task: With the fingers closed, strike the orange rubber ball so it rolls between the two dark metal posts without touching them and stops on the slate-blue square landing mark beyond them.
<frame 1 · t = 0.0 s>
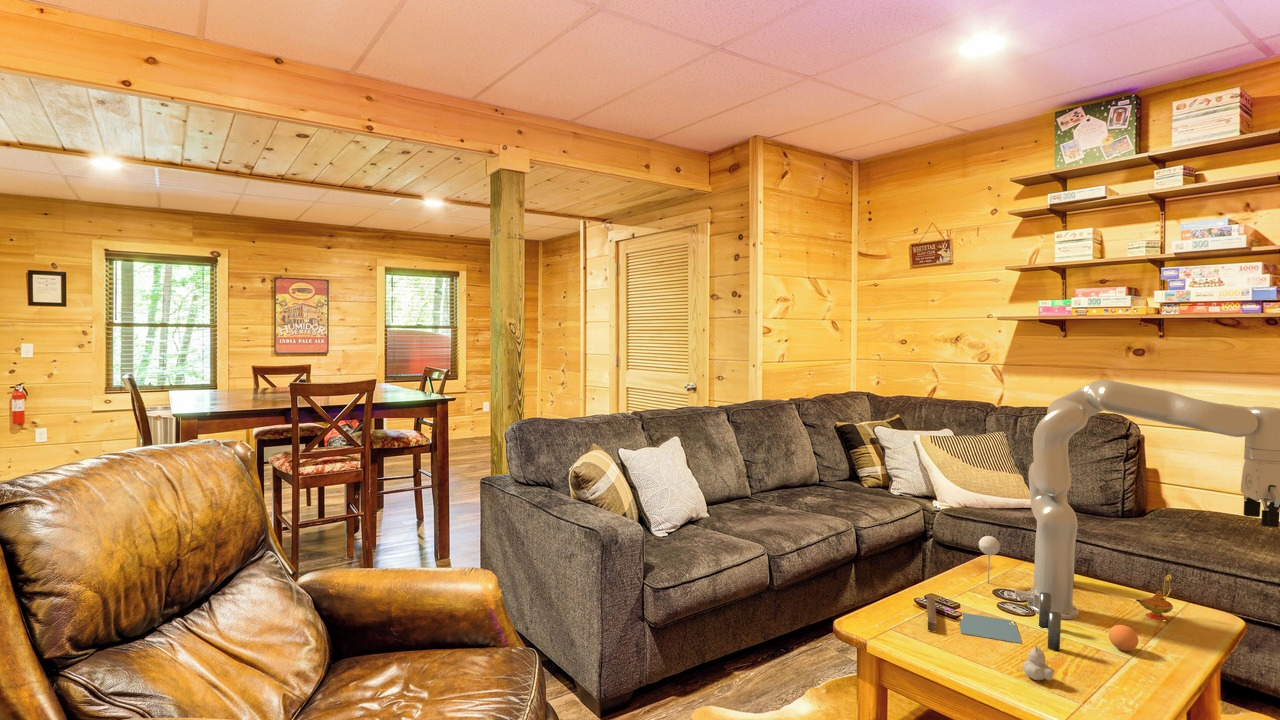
hand: (1260, 521, 169), 31 cm above the table, tool pointing down, fingers open, 9 cm apart
post 2: (1053, 648, 166), on the table
rubber duck: (1038, 680, 151), on the table
lollipop: (988, 583, 208), on the table
post 1: (1044, 626, 178), on the table
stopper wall: (931, 618, 182), on the table
landing mark: (988, 627, 177), on the table
magic lamp: (1153, 619, 183), on the table
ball: (1123, 637, 165), on the table
coffee box: (1055, 582, 209), on the table
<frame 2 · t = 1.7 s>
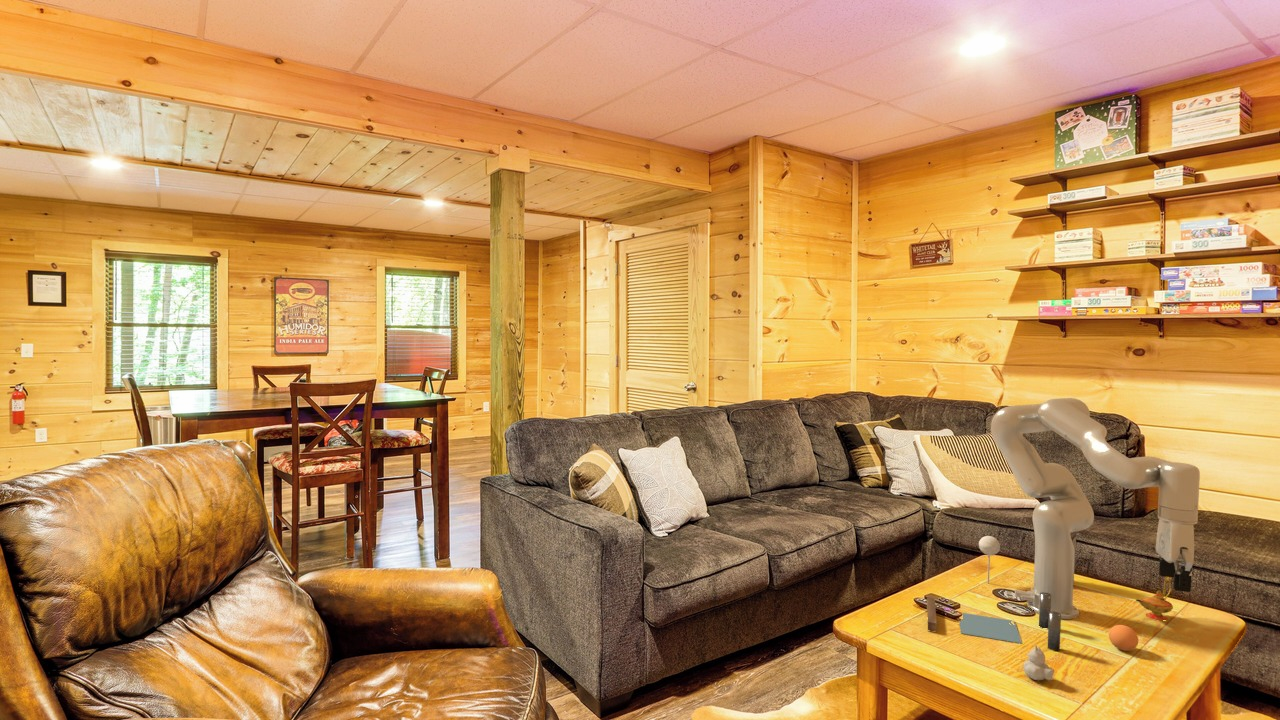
hand: (1174, 583, 161), 18 cm above the table, tool pointing down, fingers open, 9 cm apart
nothing on the table moved.
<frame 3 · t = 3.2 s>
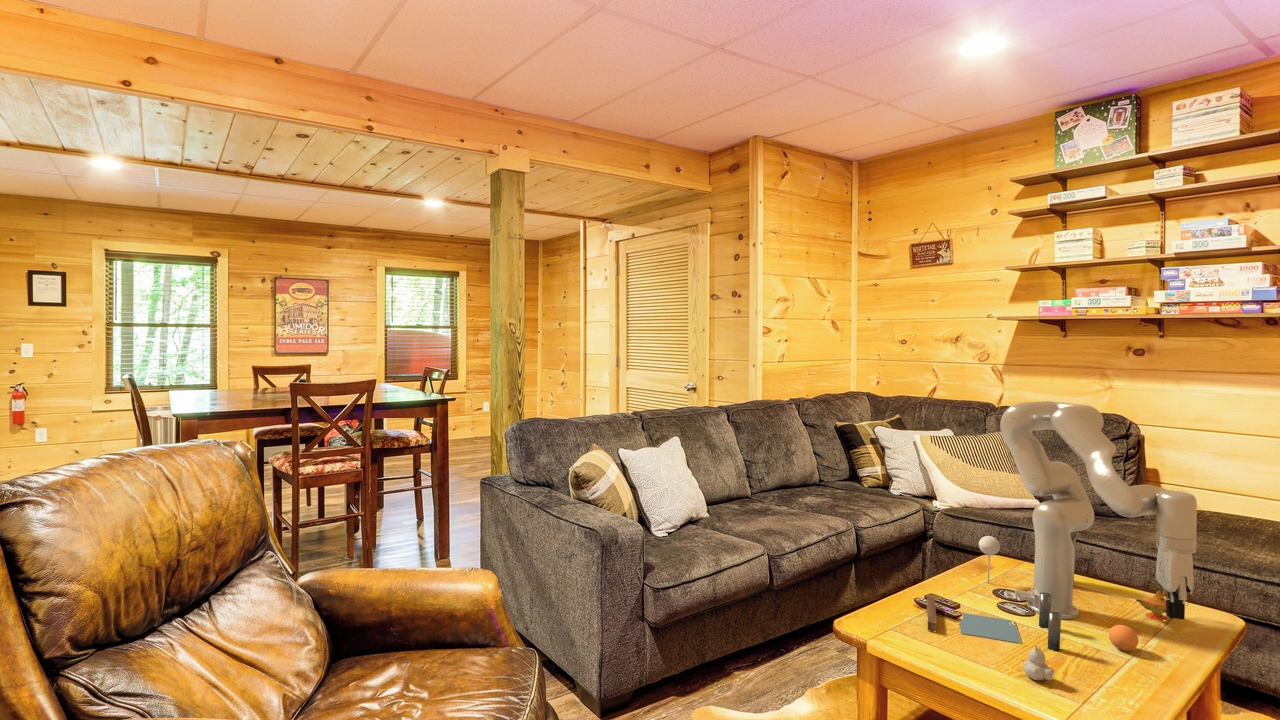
hand: (1175, 617, 160), 10 cm above the table, tool pointing down, fingers closed
nothing on the table moved.
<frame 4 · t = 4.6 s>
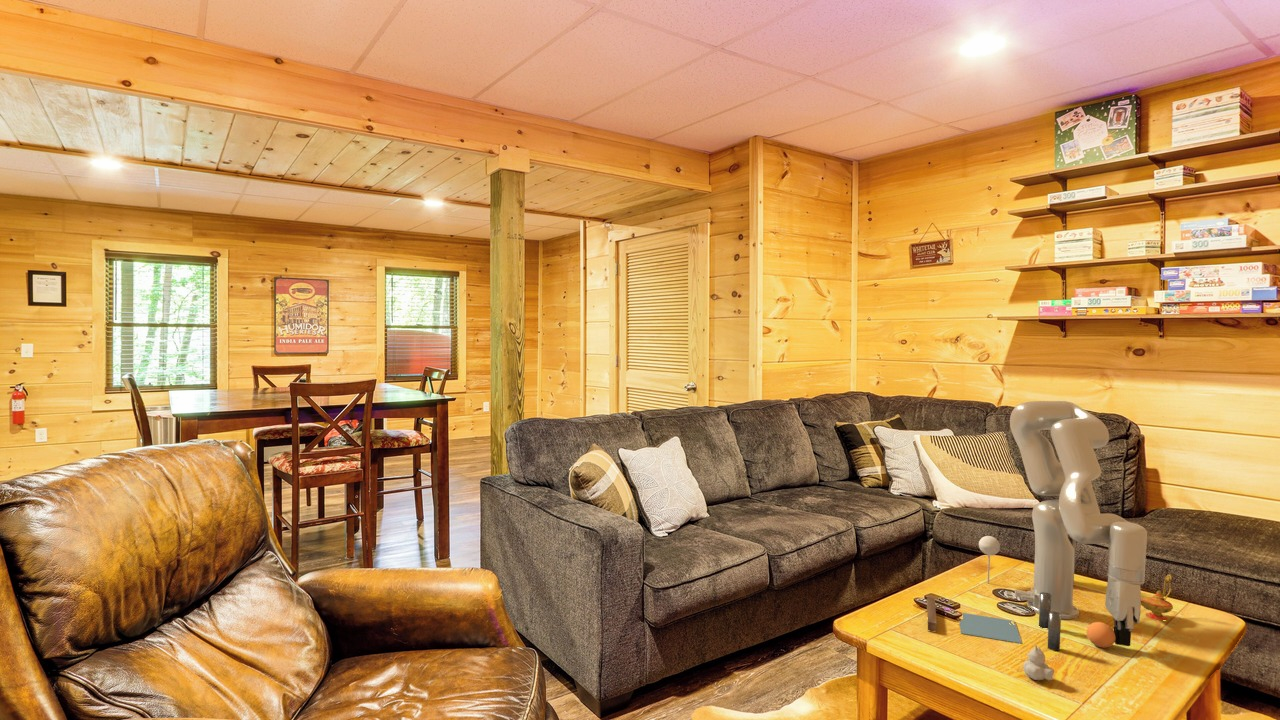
hand: (1121, 643, 166), 1 cm above the table, tool pointing down, fingers closed
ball: (1100, 634, 167), on the table
everything else where it was.
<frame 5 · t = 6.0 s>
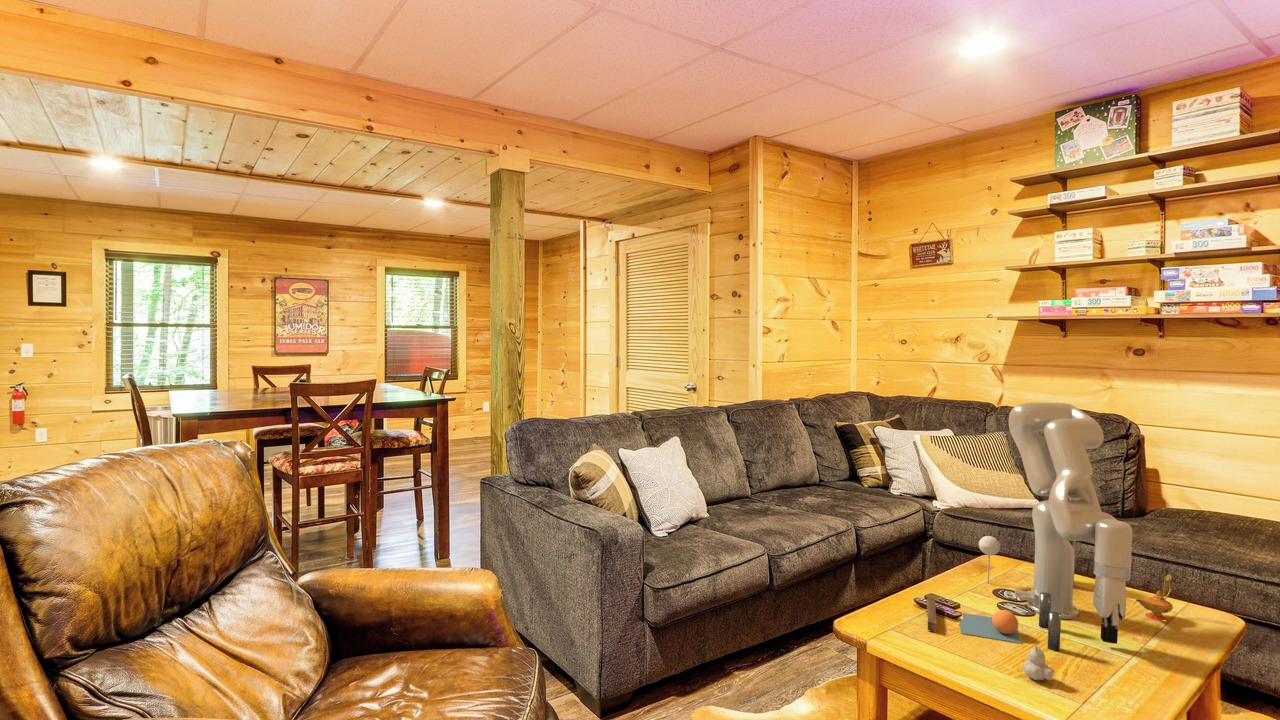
hand: (1108, 641, 166), 2 cm above the table, tool pointing down, fingers closed
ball: (1005, 622, 174), on the table
everything else where it was.
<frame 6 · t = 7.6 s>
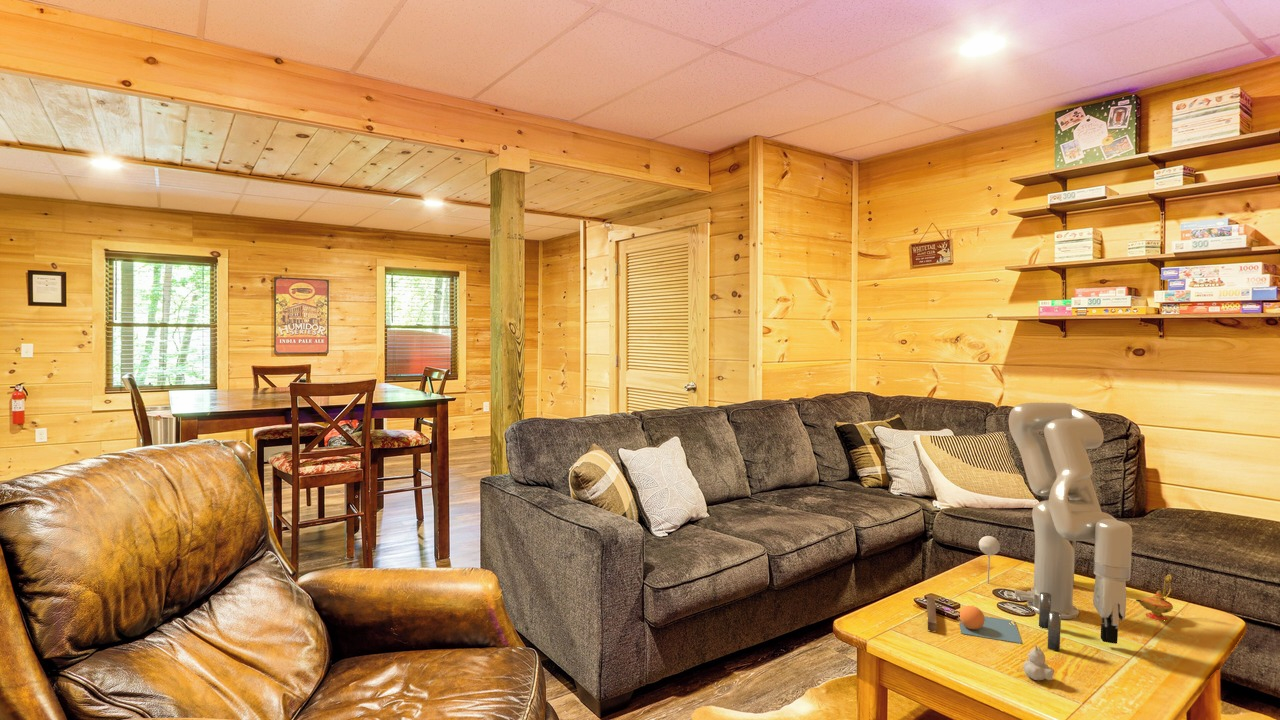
hand: (1108, 641, 166), 2 cm above the table, tool pointing down, fingers closed
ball: (971, 617, 176), on the table
everything else where it was.
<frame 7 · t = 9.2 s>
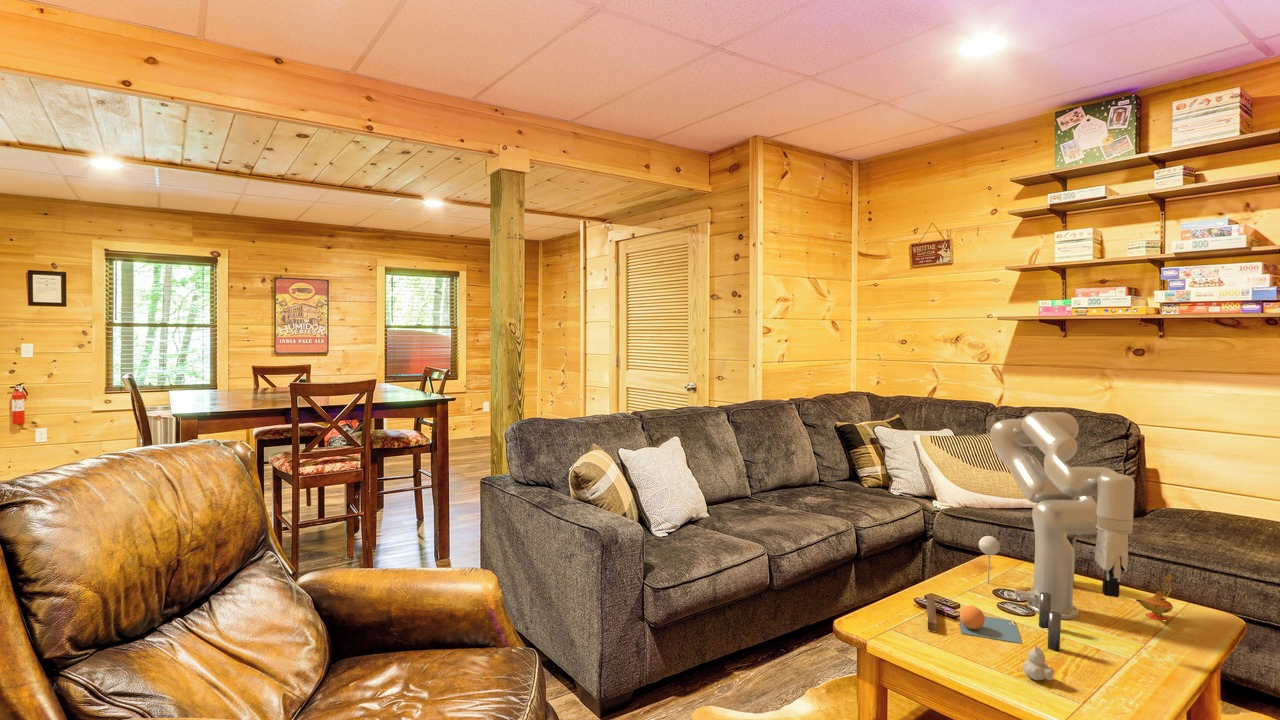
hand: (1110, 595, 166), 13 cm above the table, tool pointing down, fingers closed
nothing on the table moved.
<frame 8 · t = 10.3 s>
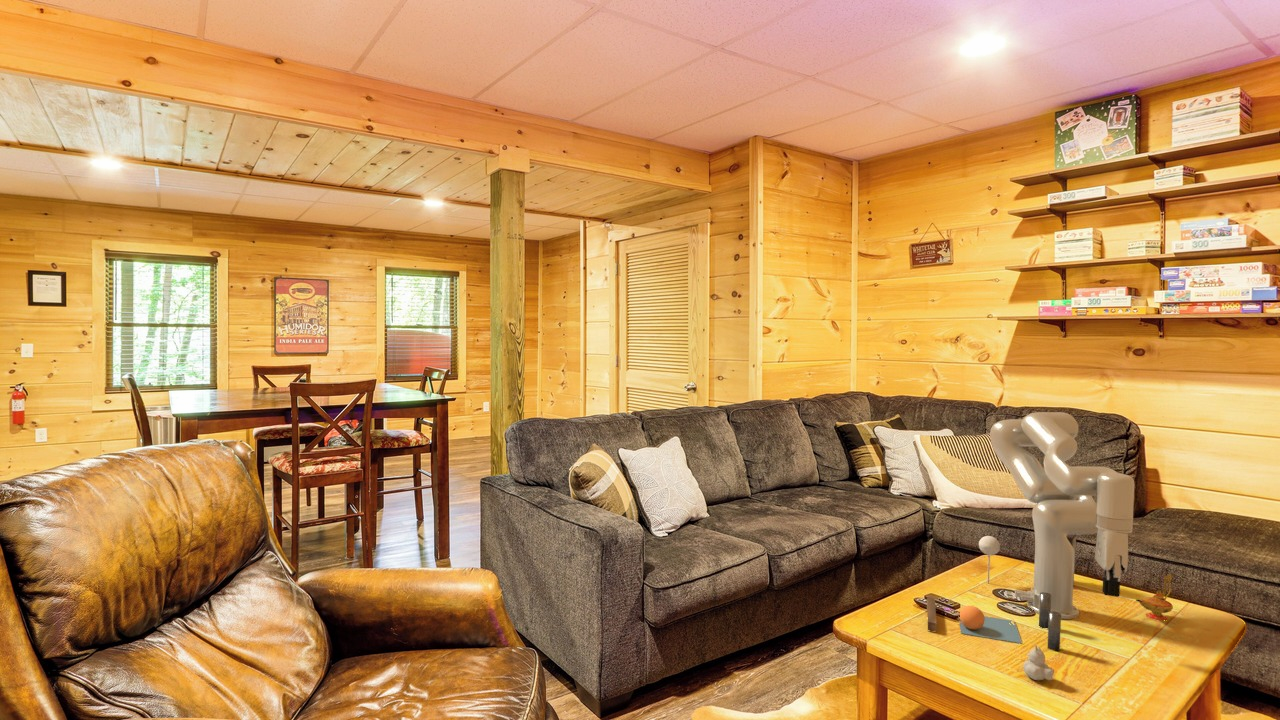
hand: (1110, 594, 166), 14 cm above the table, tool pointing down, fingers closed
nothing on the table moved.
at the end: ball 4.9 cm from the landing mark (horizontally); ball never touched post 1; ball never touched post 2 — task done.
